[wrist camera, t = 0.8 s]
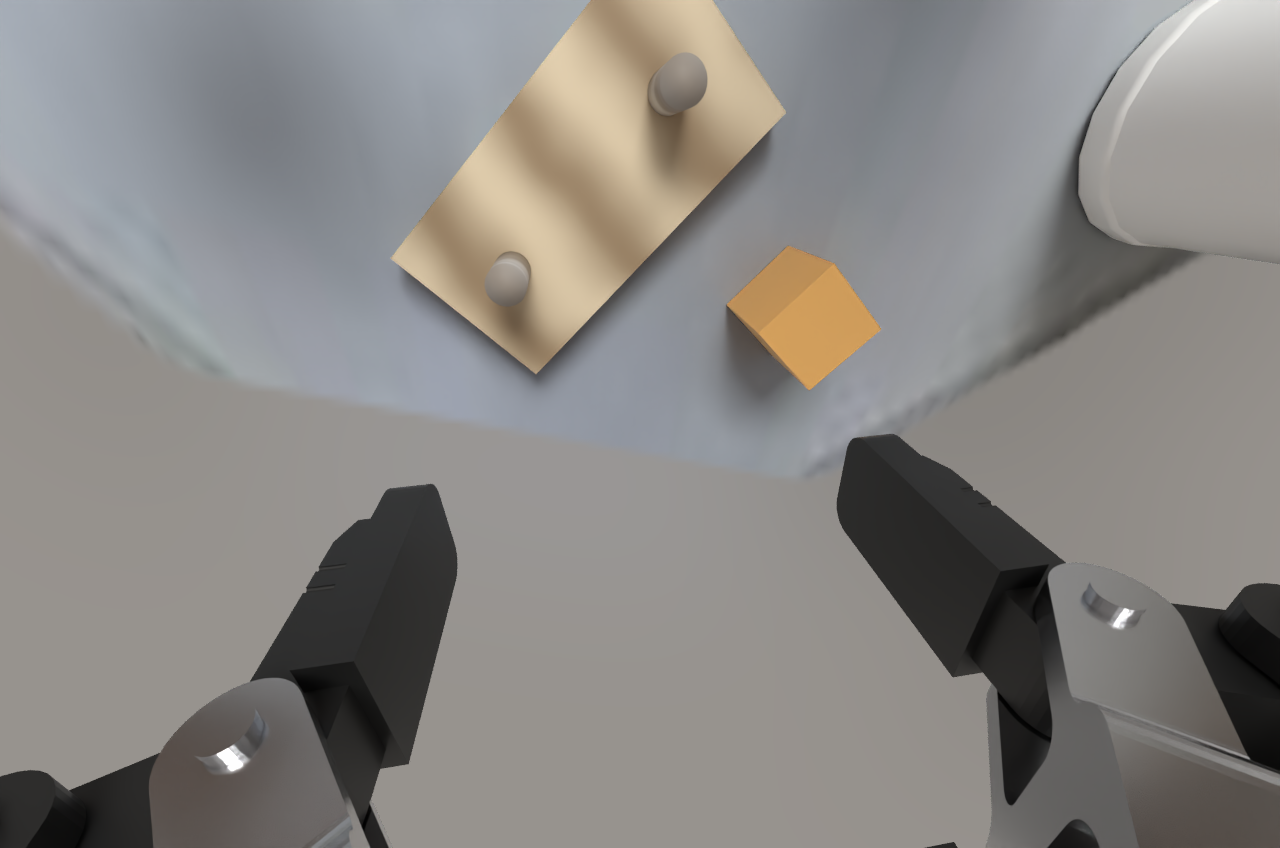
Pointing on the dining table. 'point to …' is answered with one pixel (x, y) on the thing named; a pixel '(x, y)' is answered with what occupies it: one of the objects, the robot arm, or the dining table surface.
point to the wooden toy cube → (804, 314)
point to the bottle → (1192, 136)
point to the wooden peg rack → (590, 170)
